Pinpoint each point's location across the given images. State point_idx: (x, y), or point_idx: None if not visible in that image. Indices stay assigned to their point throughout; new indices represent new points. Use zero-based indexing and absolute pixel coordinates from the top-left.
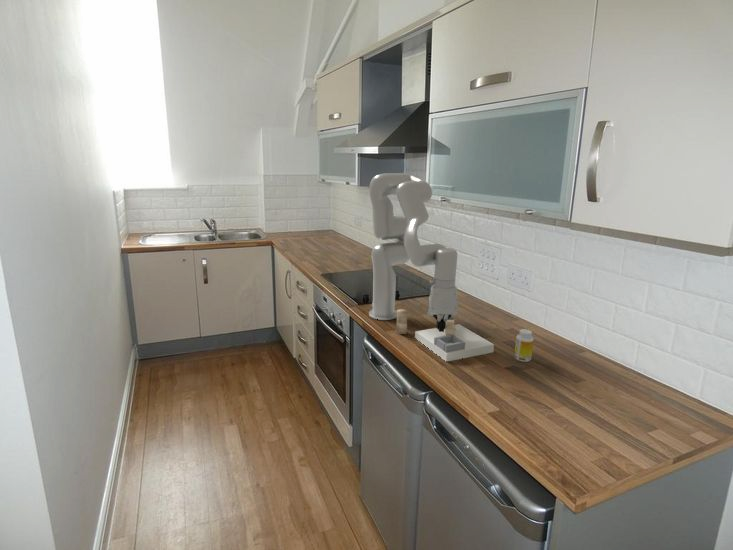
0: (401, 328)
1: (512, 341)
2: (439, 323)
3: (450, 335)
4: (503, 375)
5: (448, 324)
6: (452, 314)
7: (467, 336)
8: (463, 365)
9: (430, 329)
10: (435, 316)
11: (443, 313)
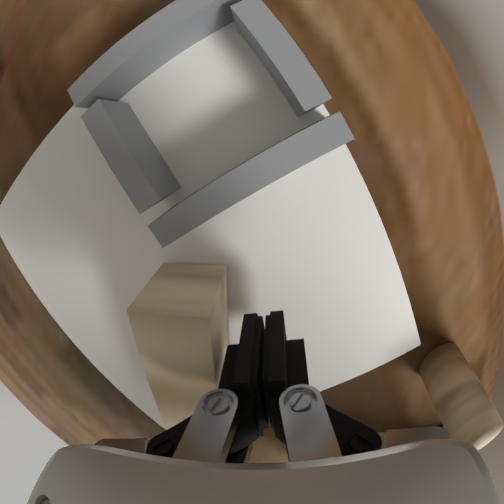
0: (460, 363)
1: (4, 316)
2: (288, 375)
3: (178, 217)
4: (23, 9)
5: (198, 385)
6: (104, 447)
7: (97, 311)
8: (145, 3)
9: (324, 383)
10: (353, 436)
11: (243, 482)
